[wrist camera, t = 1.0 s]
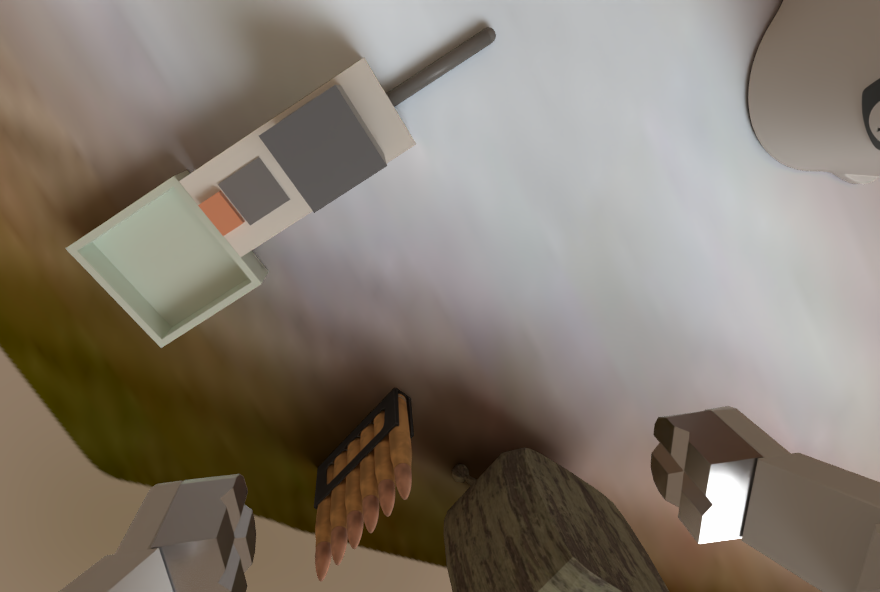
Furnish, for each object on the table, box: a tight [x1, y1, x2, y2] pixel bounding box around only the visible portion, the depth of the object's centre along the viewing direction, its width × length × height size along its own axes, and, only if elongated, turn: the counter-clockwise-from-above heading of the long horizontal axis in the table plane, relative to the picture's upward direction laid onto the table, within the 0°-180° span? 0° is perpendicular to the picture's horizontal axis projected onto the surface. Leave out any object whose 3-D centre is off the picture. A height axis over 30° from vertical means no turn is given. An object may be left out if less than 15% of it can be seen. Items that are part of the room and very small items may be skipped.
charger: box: [259, 85, 387, 213], centre depth 32 cm, size 5×5×9 cm
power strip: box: [179, 28, 496, 257], centre depth 35 cm, size 22×6×5 cm, turn 121°
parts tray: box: [66, 170, 268, 348], centre depth 38 cm, size 9×9×3 cm
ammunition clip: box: [314, 388, 414, 581], centre depth 41 cm, size 11×2×12 cm, turn 137°
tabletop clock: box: [444, 448, 669, 592], centre depth 39 cm, size 14×9×25 cm, turn 51°
